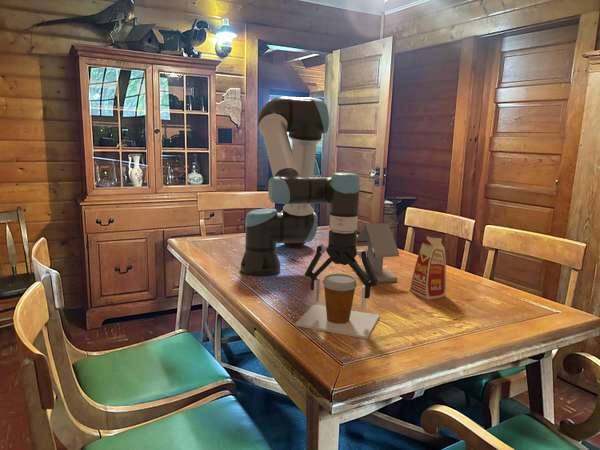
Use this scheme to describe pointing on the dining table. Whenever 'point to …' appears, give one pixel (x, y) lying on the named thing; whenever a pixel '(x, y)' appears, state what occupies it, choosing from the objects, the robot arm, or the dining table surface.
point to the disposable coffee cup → (339, 296)
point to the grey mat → (356, 325)
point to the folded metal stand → (378, 249)
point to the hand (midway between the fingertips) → (339, 305)
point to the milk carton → (430, 270)
